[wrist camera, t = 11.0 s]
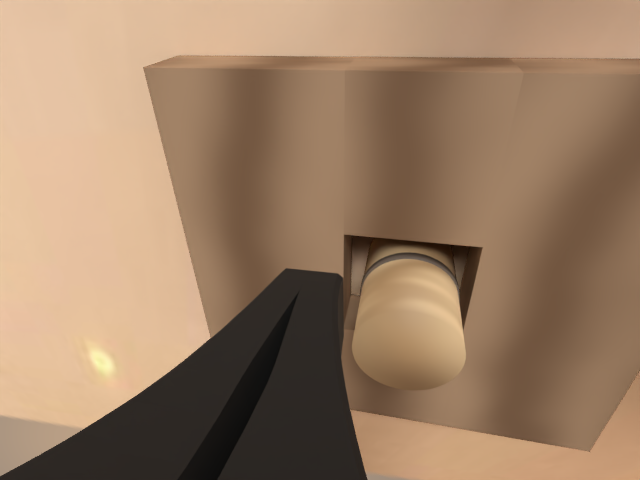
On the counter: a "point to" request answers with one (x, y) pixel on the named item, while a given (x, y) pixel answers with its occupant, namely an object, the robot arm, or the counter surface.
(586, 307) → the hole board
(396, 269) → the oak peg
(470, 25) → the counter surface
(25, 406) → the counter surface
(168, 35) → the counter surface
